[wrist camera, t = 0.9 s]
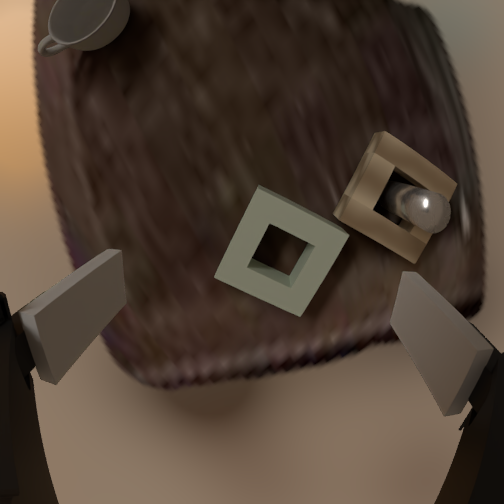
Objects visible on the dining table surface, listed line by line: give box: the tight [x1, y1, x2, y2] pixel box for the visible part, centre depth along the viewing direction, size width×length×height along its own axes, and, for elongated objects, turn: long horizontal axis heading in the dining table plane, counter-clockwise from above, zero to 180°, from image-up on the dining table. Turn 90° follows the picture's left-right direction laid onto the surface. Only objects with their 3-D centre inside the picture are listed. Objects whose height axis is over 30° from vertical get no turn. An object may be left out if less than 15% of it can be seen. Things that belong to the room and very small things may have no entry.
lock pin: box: [378, 181, 451, 233], centre depth 32 cm, size 4×4×12 cm
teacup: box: [38, 0, 130, 57], centre depth 28 cm, size 14×11×8 cm
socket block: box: [214, 185, 349, 317], centre depth 38 cm, size 12×12×4 cm
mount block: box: [333, 131, 457, 264], centre depth 35 cm, size 12×12×4 cm
